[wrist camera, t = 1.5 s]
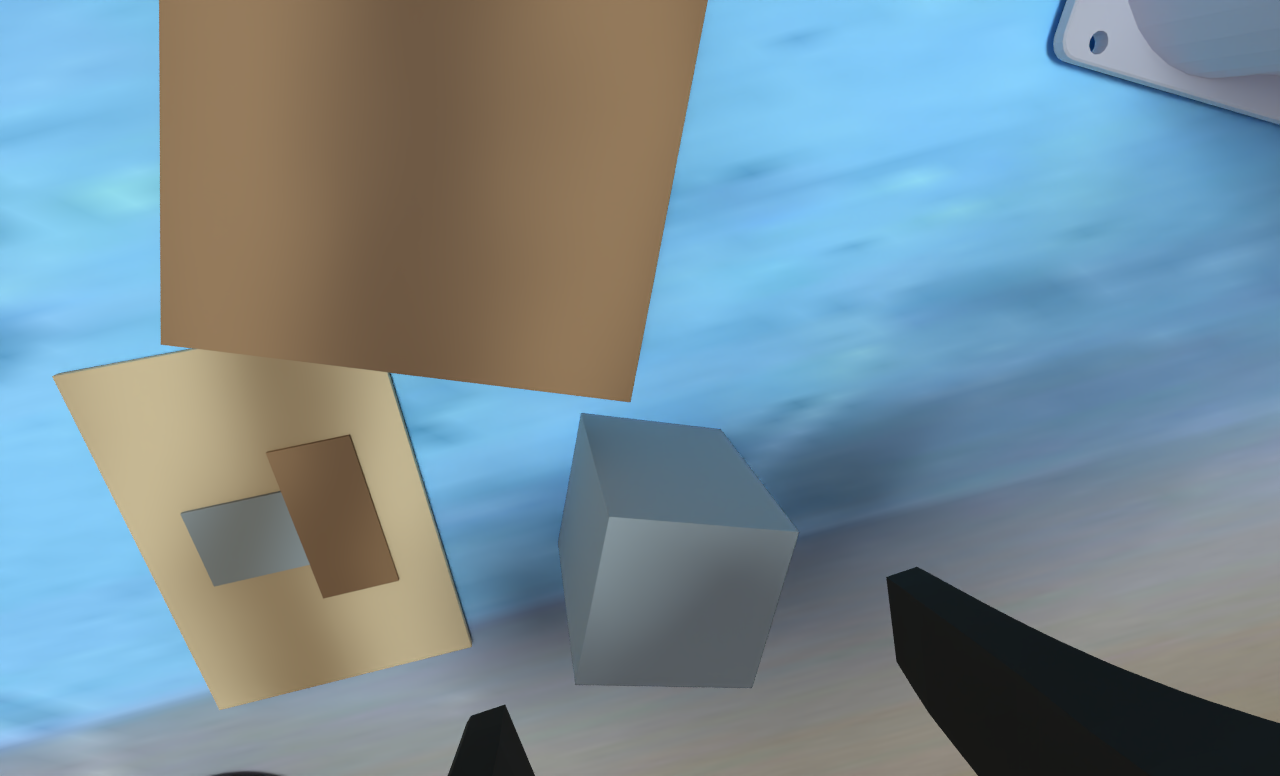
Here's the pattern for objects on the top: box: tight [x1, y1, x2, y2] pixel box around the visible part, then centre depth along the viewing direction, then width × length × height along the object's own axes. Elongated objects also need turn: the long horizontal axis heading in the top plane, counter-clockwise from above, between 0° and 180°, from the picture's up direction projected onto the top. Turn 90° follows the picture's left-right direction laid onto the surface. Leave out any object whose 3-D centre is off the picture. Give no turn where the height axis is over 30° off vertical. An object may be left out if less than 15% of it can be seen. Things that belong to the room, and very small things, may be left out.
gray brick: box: [558, 413, 799, 688], centre depth 16 cm, size 4×4×6 cm
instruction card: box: [52, 348, 472, 710], centre depth 17 cm, size 7×10×1 cm
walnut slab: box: [159, 0, 708, 402], centre depth 14 cm, size 9×9×3 cm
